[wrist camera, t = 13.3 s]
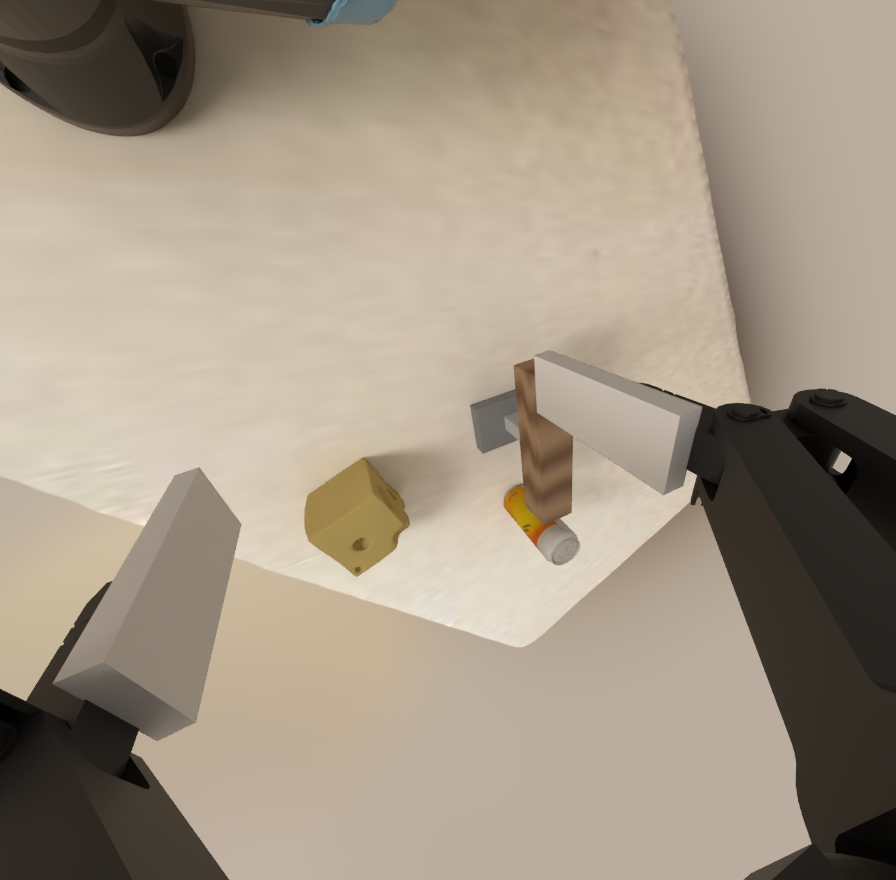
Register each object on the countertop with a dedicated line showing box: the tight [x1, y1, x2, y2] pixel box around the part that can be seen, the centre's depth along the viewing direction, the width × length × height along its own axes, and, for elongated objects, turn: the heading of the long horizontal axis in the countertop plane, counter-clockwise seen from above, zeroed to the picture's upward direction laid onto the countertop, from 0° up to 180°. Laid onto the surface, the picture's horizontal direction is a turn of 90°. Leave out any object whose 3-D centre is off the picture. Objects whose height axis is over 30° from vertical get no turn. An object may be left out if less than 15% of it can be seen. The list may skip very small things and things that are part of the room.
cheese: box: [305, 458, 410, 577], centre depth 47 cm, size 10×11×10 cm
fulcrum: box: [470, 389, 520, 453], centre depth 52 cm, size 8×12×8 cm, turn 101°
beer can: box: [504, 485, 580, 565], centre depth 58 cm, size 6×6×15 cm
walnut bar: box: [514, 359, 573, 525], centre depth 46 cm, size 24×5×5 cm, turn 11°
